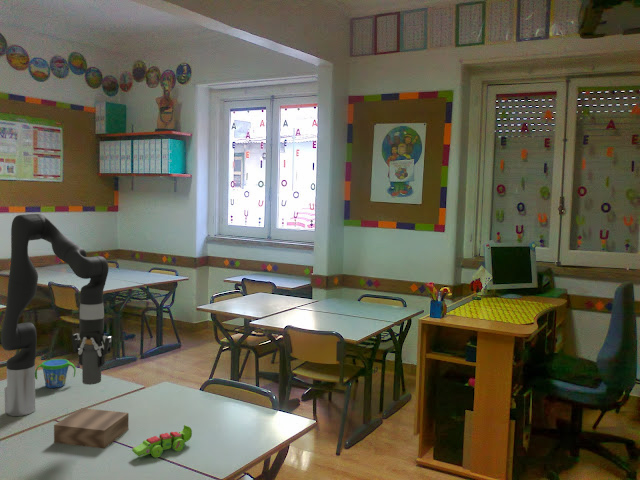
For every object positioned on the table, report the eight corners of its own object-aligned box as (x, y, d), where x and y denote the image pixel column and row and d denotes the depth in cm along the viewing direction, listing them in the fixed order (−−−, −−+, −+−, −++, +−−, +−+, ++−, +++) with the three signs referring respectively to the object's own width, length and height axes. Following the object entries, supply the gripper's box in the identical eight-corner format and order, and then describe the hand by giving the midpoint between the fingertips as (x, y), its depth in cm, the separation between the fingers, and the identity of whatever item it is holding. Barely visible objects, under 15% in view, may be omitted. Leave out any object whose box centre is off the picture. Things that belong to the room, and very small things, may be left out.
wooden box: (54, 442, 180) (53, 424, 180) (81, 424, 195) (81, 408, 195) (104, 448, 177) (104, 430, 177) (128, 429, 192) (128, 412, 192)
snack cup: (78, 380, 240) (78, 358, 239) (72, 389, 230) (72, 365, 229) (39, 382, 237) (39, 359, 236) (31, 390, 227) (31, 366, 226)
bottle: (94, 385, 181) (94, 340, 180) (78, 383, 183) (78, 339, 181) (104, 379, 187) (104, 336, 186) (89, 378, 188) (89, 335, 187)
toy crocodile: (137, 464, 168) (137, 444, 168) (129, 456, 173) (129, 437, 173) (196, 446, 181) (196, 428, 180) (186, 439, 186) (186, 422, 185)
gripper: (65, 317, 181) (65, 367, 182) (105, 320, 178) (105, 371, 179) (79, 312, 188) (79, 360, 189) (117, 315, 186) (117, 364, 187)
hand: (91, 365), depth 184 cm, fingers closed on bottle, 6 cm apart
